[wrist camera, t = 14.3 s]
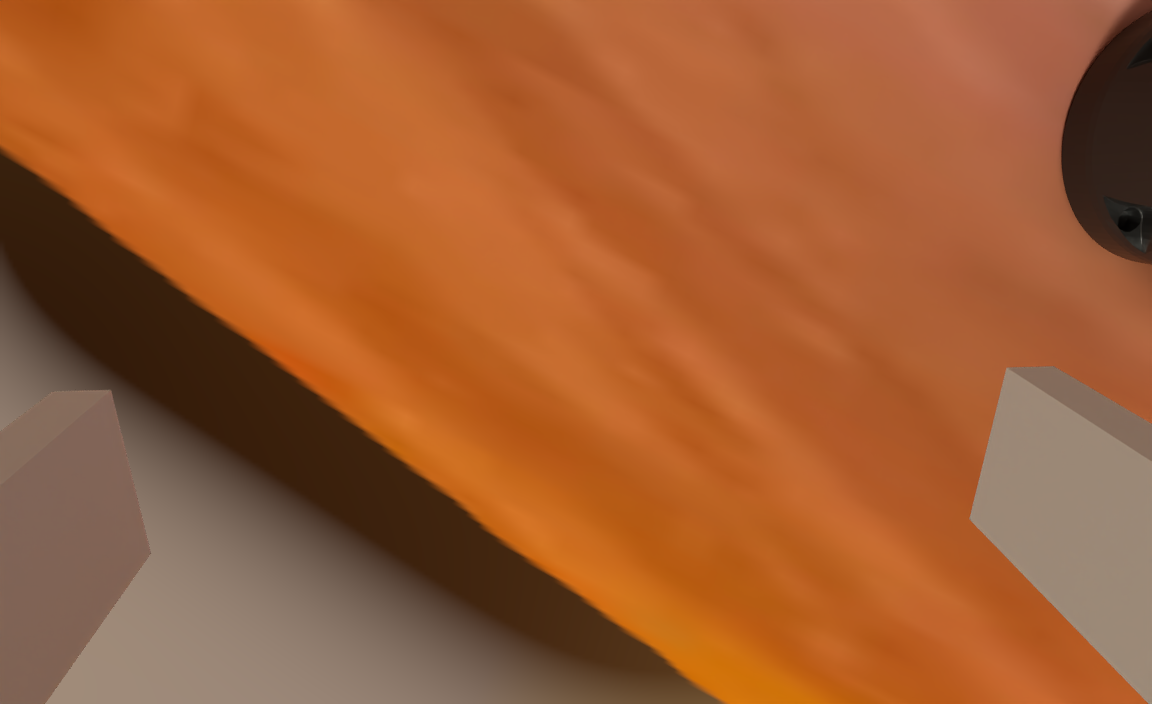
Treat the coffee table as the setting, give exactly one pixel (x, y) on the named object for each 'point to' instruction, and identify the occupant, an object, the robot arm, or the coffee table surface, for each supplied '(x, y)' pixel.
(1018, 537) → the robot arm
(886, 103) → the coffee table surface
